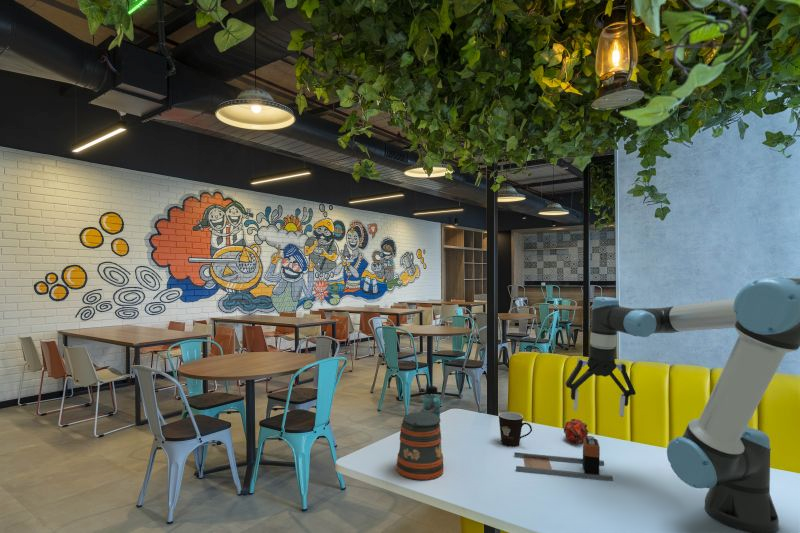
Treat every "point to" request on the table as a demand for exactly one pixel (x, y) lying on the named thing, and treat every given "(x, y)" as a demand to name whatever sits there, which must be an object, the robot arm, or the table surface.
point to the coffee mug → (511, 428)
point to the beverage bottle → (436, 400)
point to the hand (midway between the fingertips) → (598, 412)
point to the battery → (591, 455)
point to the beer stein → (421, 445)
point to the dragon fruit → (575, 431)
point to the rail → (543, 466)
